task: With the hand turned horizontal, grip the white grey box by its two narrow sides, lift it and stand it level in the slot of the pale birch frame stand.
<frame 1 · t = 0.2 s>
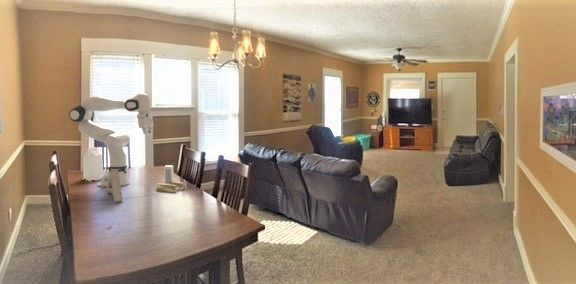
hand: (147, 133, 302), 39 cm above the table, tool pointing down, fingers open, 8 cm apart
wall bracket: (114, 197, 267), on the table
milk: (93, 179, 327), on the table
white grey box: (169, 185, 302), on the table
frame stand: (170, 189, 289), on the table
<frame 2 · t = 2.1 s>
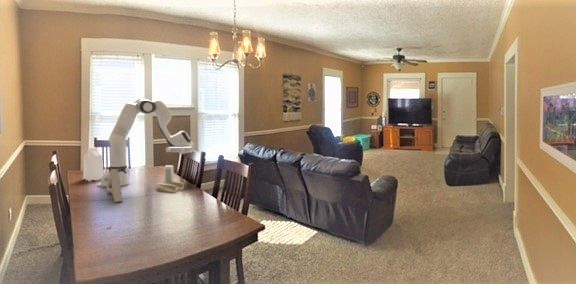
hand: (175, 150, 311), 25 cm above the table, tool horizontal, fingers open, 8 cm apart
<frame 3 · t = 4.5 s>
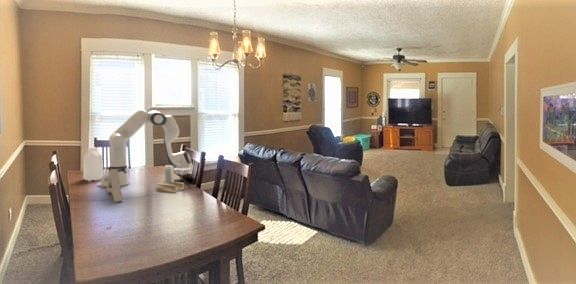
hand: (174, 172, 310), 8 cm above the table, tool horizontal, fingers open, 8 cm apart
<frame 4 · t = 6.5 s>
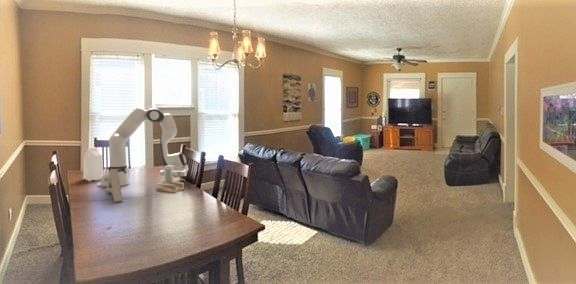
hand: (168, 174, 300), 9 cm above the table, tool horizontal, fingers closed on white grey box, 6 cm apart
white grey box: (169, 185, 302), on the table, touching gripper
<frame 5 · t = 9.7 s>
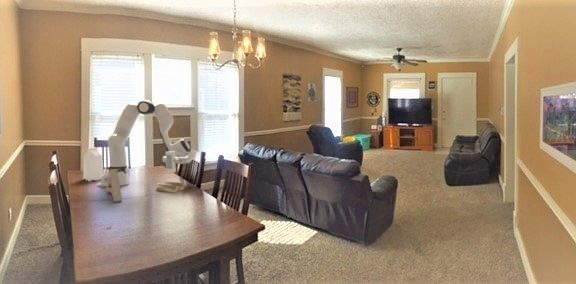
hand: (169, 160, 291), 20 cm above the table, tool horizontal, fingers closed on white grey box, 5 cm apart
white grey box: (171, 172, 293), point 12 cm above the table, touching gripper
when the fingers open (11 cm above the table, at t = 12.9 s): white grey box stays where it is, resting on frame stand.
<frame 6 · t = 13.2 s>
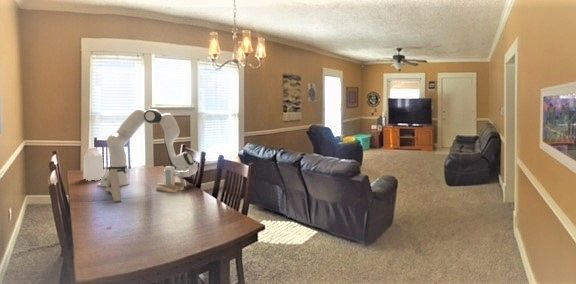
hand: (169, 174, 287), 11 cm above the table, tool horizontal, fingers open, 8 cm apart
white grey box: (170, 187, 288), point 2 cm above the table, touching frame stand
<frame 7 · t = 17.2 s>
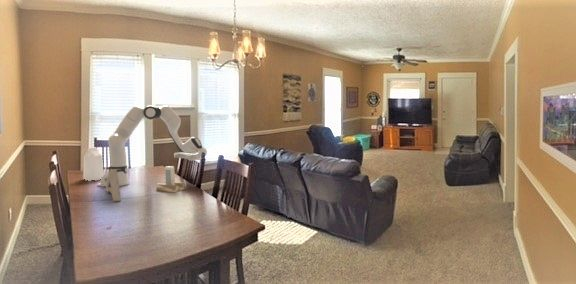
hand: (180, 156, 297), 22 cm above the table, tool horizontal, fingers open, 8 cm apart
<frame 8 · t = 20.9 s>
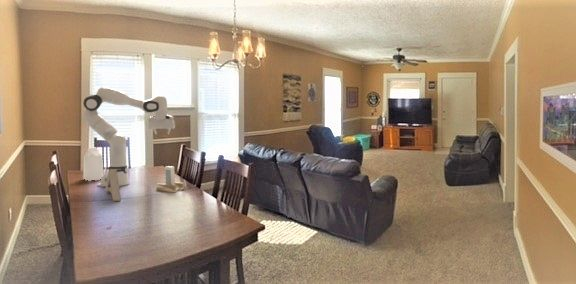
hand: (162, 134, 314), 37 cm above the table, tool pointing down, fingers open, 8 cm apart
at the end: white grey box 0.1 cm off-centre on the frame stand, point 1.5 cm above the frame stand's base; white grey box tilted 0°; the gripper is holding nothing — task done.
